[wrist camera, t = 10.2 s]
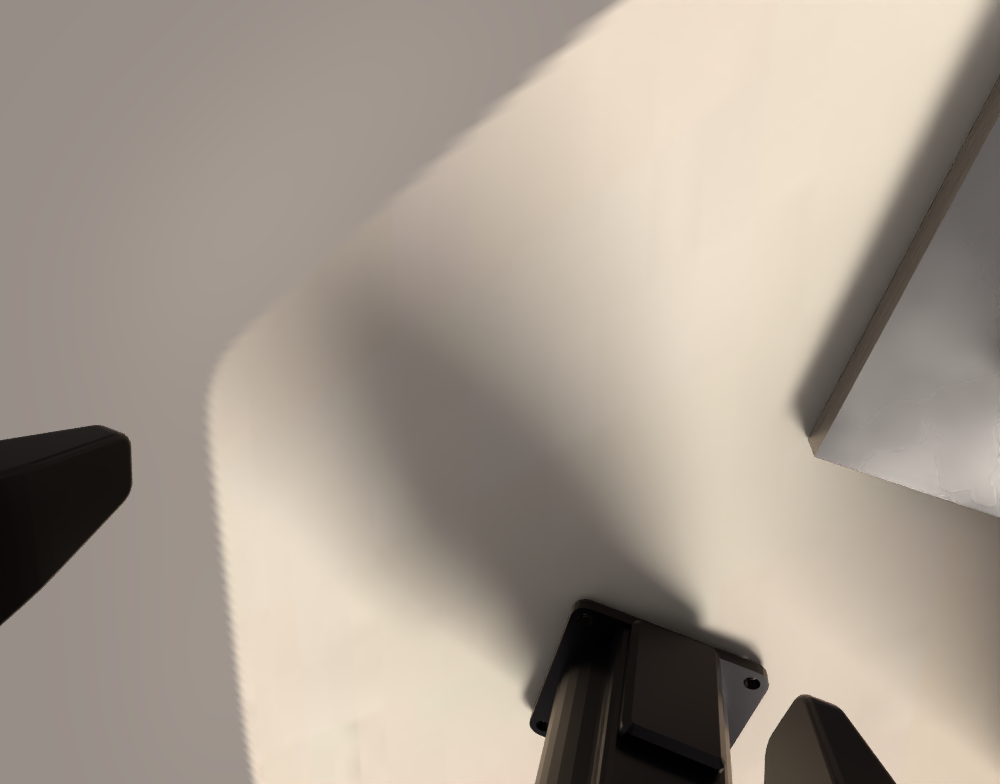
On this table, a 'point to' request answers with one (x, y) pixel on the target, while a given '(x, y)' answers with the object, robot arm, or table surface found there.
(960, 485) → the frame
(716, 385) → the table surface
